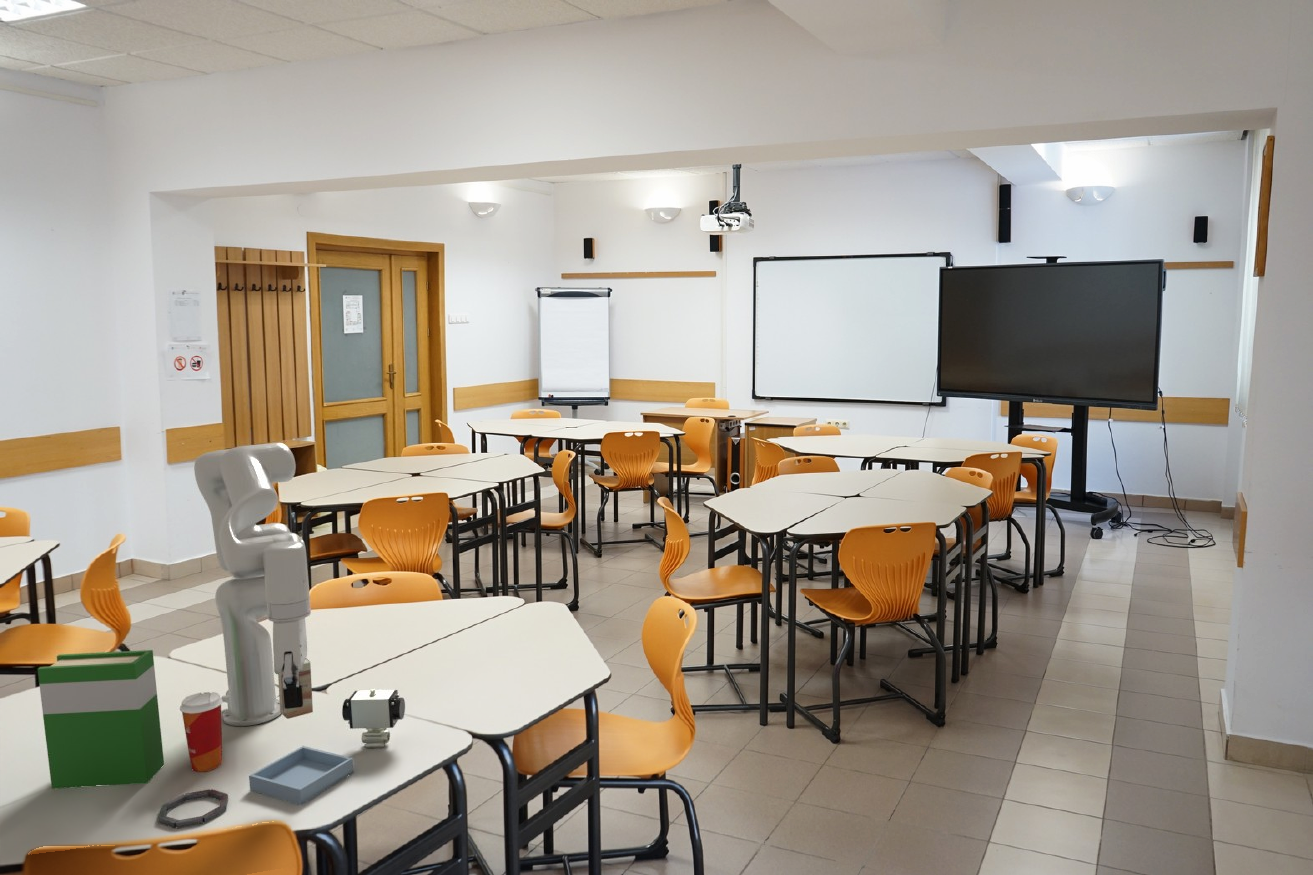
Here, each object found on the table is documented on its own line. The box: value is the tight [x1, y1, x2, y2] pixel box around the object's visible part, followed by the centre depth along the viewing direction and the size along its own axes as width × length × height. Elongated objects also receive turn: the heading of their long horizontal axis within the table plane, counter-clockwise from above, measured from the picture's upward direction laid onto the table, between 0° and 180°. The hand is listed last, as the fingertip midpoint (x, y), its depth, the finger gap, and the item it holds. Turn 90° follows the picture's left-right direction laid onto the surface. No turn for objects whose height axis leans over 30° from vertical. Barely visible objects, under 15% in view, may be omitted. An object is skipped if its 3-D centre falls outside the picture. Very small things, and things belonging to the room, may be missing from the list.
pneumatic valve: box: [341, 688, 406, 749], centre depth 195 cm, size 6×12×12 cm, turn 90°
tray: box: [248, 745, 355, 806], centre depth 181 cm, size 13×13×3 cm
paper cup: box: [179, 691, 224, 773], centre depth 187 cm, size 8×8×14 cm
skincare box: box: [277, 657, 314, 720], centre depth 178 cm, size 5×4×10 cm
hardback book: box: [37, 649, 165, 790], centre depth 183 cm, size 18×7×24 cm, turn 94°
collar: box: [157, 788, 229, 829], centre depth 171 cm, size 11×11×1 cm
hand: (296, 699), depth 179 cm, fingers closed on skincare box, 5 cm apart
